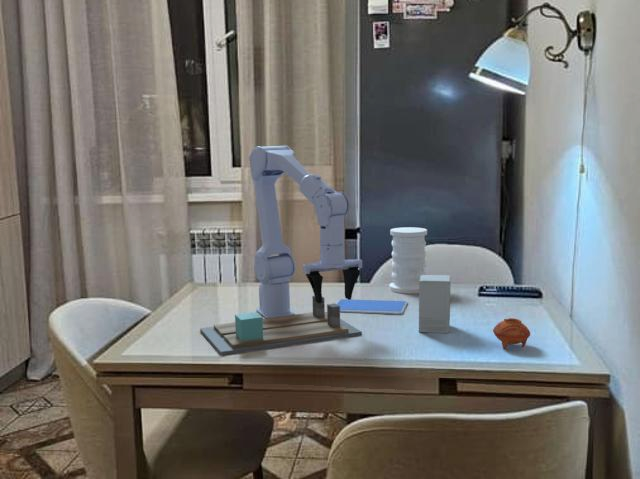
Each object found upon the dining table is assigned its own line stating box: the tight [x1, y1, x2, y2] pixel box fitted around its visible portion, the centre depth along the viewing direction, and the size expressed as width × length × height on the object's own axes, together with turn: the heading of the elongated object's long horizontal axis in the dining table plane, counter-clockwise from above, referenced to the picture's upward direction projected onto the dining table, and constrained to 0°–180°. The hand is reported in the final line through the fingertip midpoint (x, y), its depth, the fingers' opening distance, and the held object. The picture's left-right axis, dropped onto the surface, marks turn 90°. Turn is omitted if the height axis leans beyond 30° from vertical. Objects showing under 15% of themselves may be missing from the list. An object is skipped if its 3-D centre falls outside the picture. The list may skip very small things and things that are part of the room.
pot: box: [492, 317, 531, 350], centre depth 154 cm, size 8×8×7 cm
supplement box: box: [418, 274, 451, 334], centre depth 168 cm, size 7×7×13 cm
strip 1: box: [213, 295, 327, 337], centre depth 171 cm, size 8×28×6 cm, turn 112°
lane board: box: [199, 311, 363, 356], centre depth 168 cm, size 20×34×1 cm, turn 112°
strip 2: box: [224, 302, 348, 348], centre depth 162 cm, size 8×28×6 cm, turn 112°
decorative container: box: [388, 226, 428, 295], centre depth 209 cm, size 12×12×18 cm
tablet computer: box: [335, 298, 409, 316], centre depth 190 cm, size 19×13×1 cm, turn 76°
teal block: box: [234, 311, 264, 342], centre depth 159 cm, size 5×5×5 cm
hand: (333, 300), depth 166 cm, fingers open, 7 cm apart
